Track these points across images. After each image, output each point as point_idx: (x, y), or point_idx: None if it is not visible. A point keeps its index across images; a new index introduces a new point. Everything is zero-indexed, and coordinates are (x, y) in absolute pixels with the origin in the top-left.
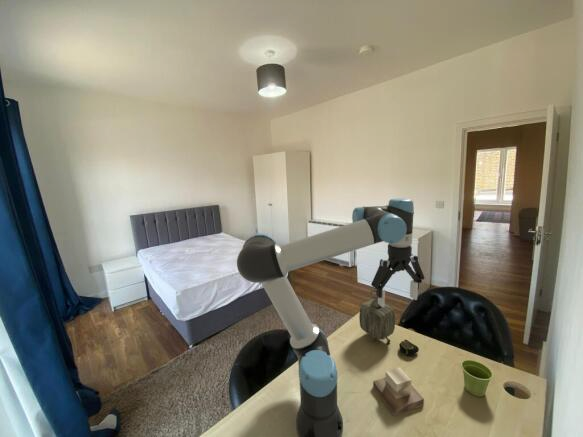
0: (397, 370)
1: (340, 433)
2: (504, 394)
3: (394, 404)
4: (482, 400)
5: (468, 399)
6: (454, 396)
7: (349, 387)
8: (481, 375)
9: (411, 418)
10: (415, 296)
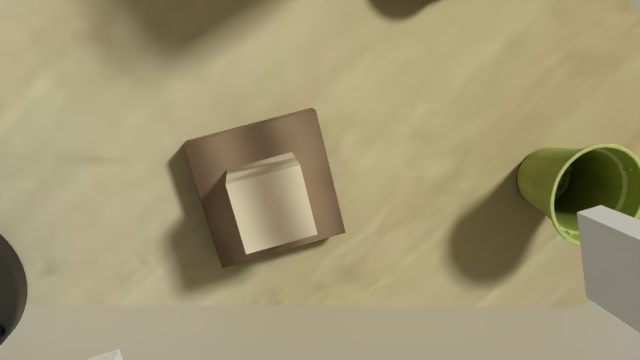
0: (282, 182)
1: (3, 340)
2: None
3: (229, 250)
4: (533, 216)
5: (495, 210)
6: (460, 198)
7: (82, 136)
8: (602, 171)
9: (275, 267)
10: (621, 318)
